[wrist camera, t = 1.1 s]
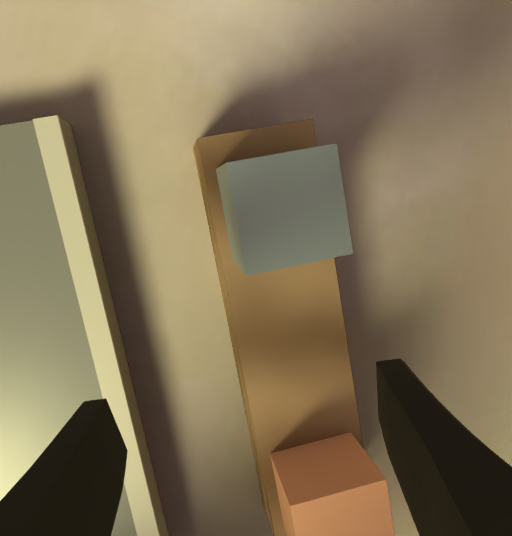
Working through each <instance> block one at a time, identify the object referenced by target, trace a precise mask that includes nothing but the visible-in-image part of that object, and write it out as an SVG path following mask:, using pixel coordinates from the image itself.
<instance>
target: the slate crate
mask: <svg viewBox="0 0 512 536" xmlns="http://www.w3.org/2000/svg"><path fill="white" fill-rule="evenodd" d="M216 173H217V178H218V184H219V189H220V194H221V199H222V205H223V210H224V215H225V220H226V225H227V231H228V236H229V241H230V246H231V252H232V257H233V262H234V263H235V264H236V265H237V266H238V267H239V268H240V269H241V270H242V271H243V272H244V273H245V274H246V275H247V276H249V275H254V274H259V273H264V272H268V271H273V270H278V269H283V268H287V267H292V266H297V265H302V264H306V263H311V262H316V261H321V260H325V259H330V258H335V257H340V256H344V255H349V254H353V249H352V242H351V235H350V229H349V222H348V215H347V208H346V201H345V195H344V188H343V181H342V174H341V168H340V161H339V154H338V147H337V143H335V144H329V145H323V146H318V147H312V148H306V149H301V150H295V151H289V152H284V153H278V154H273V155H267V156H261V157H256V158H250V159H244V160H239V161H233V162H227V163H225V164H223V165H221V166H220V167H218V168H217V169H216Z"/></svg>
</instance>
